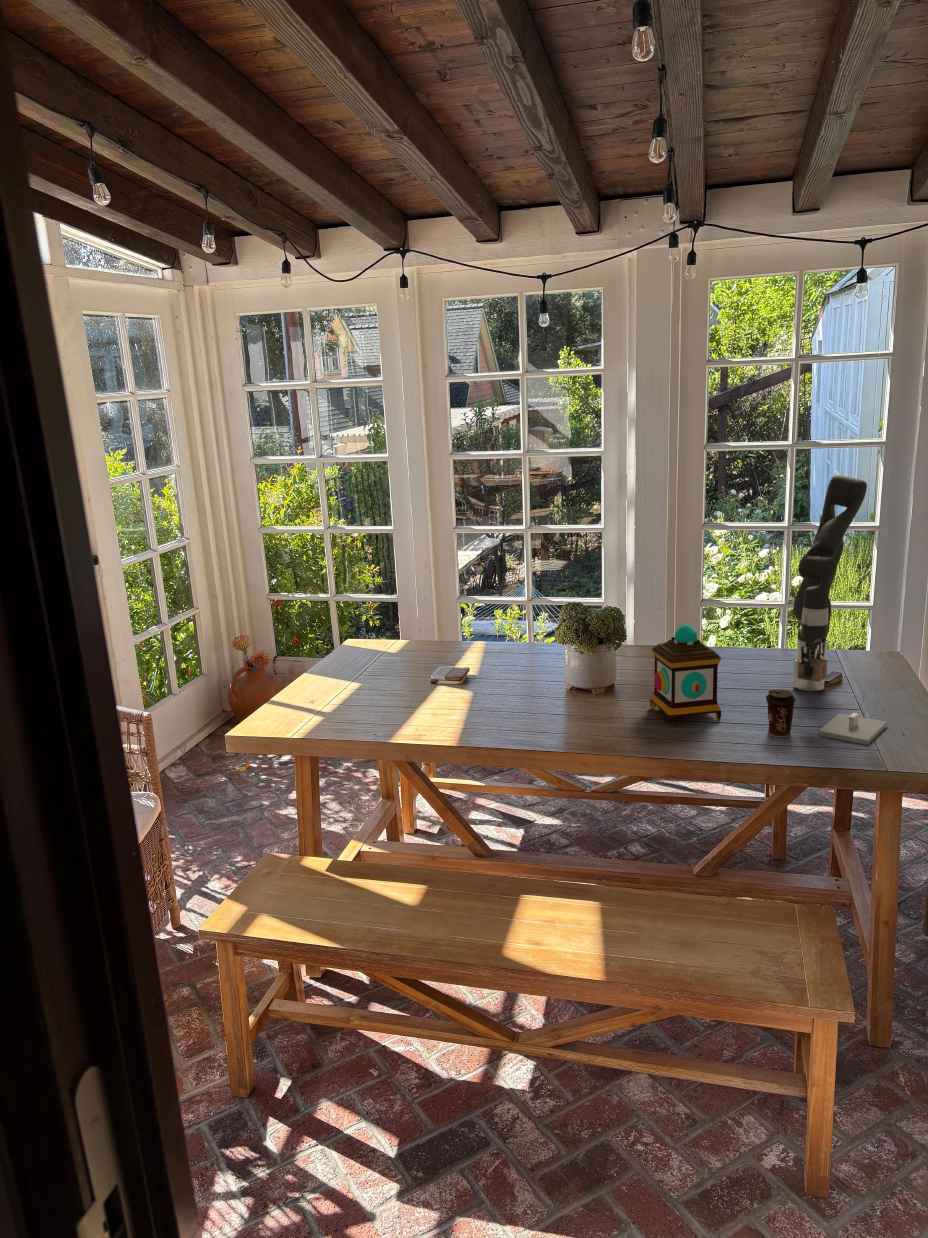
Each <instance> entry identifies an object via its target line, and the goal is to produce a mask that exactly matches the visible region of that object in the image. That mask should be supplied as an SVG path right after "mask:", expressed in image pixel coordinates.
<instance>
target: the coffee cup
mask: <svg viewBox="0 0 928 1238" xmlns="http://www.w3.org/2000/svg"><path fill="white" fill-rule="evenodd" d="M765 698H766V699H765V700H766V702H767V719H768V730H767V733H768V735H769V734H770V735H769V736H771V737H773V736H774V737H773V738H780V737H782V738H783V737H785V738H788V737H789V736H790V735H791V730H792V725H793V718H794V710H795V702H796V698H795V696H794V693H793V692H792V691H790V690H787V689H772V690H768V694H767V695H766V696H765ZM782 738H781V739H782ZM783 739H784V738H783Z"/></svg>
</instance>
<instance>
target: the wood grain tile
mask: <svg viewBox="0 0 928 1238" xmlns="http://www.w3.org/2000/svg"><path fill="white" fill-rule="evenodd" d="M849 715H850V716H849V727H848V728H855V727H856V726H857V725H858V717H859V713H857V712H852V714H849Z"/></svg>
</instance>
